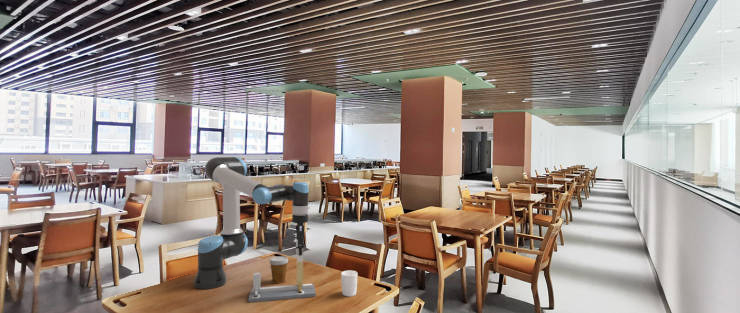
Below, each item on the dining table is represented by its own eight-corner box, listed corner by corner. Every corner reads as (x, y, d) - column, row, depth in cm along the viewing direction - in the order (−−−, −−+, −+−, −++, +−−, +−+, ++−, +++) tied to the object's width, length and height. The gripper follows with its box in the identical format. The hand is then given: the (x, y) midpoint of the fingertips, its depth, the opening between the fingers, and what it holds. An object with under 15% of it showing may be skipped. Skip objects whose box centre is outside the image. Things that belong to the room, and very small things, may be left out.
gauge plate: (248, 302, 161) (248, 280, 161) (250, 292, 173) (250, 271, 173) (315, 296, 168) (315, 275, 168) (313, 287, 180) (313, 267, 180)
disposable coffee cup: (290, 278, 192) (290, 256, 192) (284, 285, 182) (284, 261, 182) (273, 277, 193) (273, 255, 193) (266, 284, 183) (266, 261, 183)
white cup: (344, 298, 167) (345, 276, 167) (338, 292, 174) (338, 271, 174) (360, 295, 170) (360, 274, 170) (353, 289, 177) (353, 269, 177)
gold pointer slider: (297, 292, 168) (297, 264, 168) (296, 286, 176) (296, 259, 175) (303, 291, 169) (303, 263, 169) (302, 285, 176) (302, 259, 176)
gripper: (309, 218, 163) (309, 265, 163) (306, 209, 187) (305, 249, 187) (293, 219, 161) (292, 266, 161) (291, 209, 185) (290, 250, 186)
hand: (299, 257), depth 174 cm, fingers open, 13 cm apart
